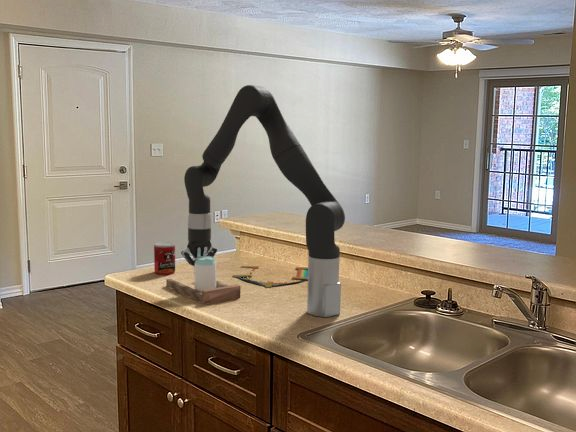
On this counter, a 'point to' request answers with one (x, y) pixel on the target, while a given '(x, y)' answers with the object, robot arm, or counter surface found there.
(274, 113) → the robot arm
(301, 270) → the ribbon cable
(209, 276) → the can
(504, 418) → the counter surface
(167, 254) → the canned food
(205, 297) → the channel
